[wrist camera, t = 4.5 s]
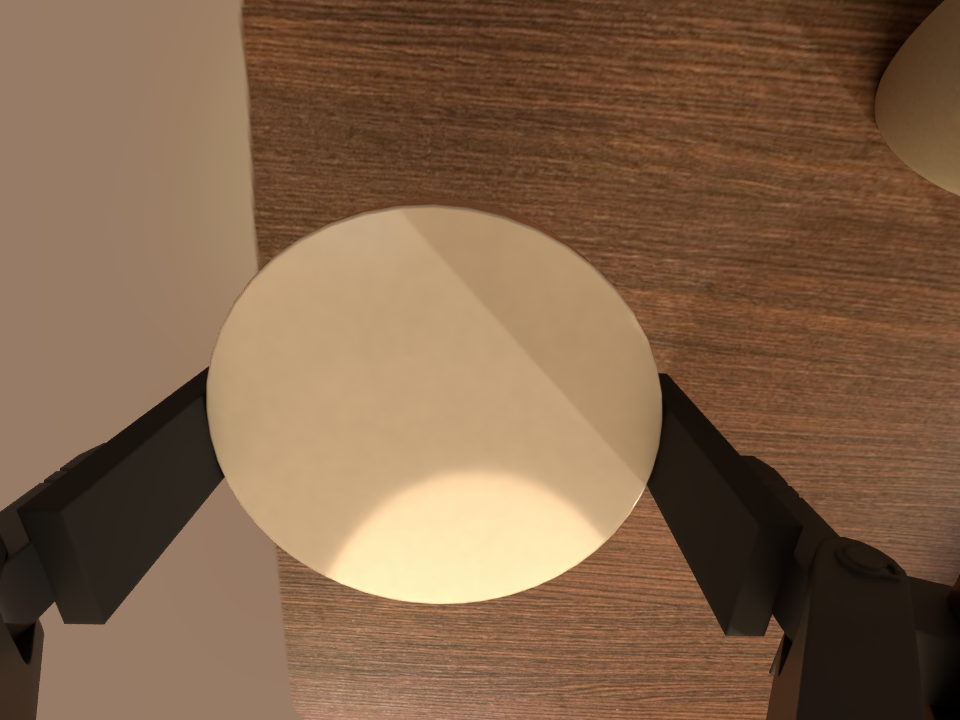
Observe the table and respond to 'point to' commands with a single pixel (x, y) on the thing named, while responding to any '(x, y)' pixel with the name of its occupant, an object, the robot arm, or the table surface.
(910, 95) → the flower pot
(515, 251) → the small plate
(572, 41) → the table surface
